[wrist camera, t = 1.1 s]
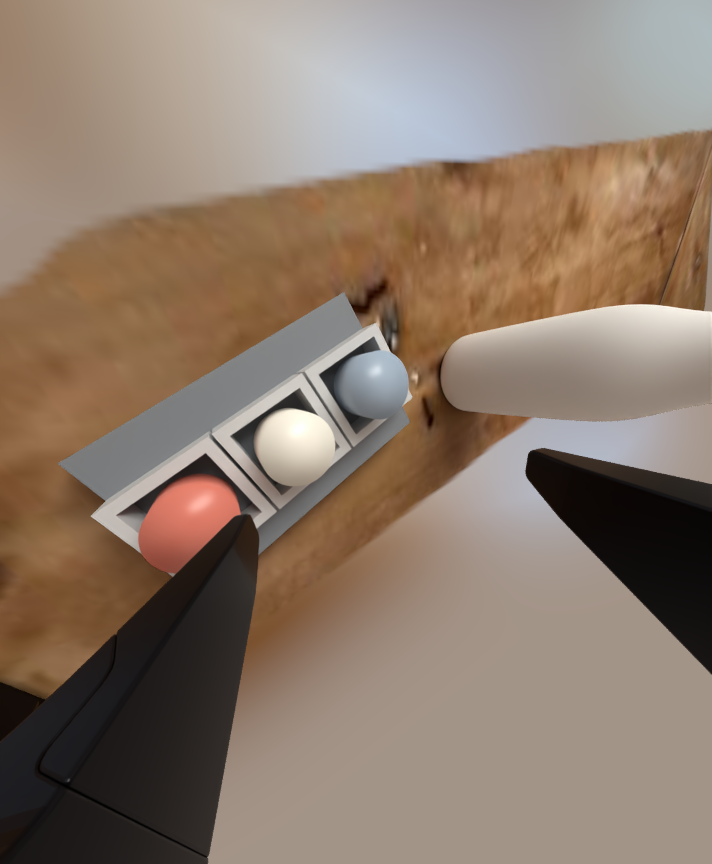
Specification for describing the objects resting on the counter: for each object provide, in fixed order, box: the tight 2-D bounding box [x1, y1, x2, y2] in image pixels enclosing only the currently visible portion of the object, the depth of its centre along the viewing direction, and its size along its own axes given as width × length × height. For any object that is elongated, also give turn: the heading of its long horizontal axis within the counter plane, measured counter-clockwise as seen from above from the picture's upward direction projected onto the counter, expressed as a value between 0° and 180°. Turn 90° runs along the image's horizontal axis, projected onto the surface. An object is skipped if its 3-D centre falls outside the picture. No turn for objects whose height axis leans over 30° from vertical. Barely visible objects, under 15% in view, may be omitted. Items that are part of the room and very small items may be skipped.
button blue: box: [334, 350, 409, 419], centre depth 16 cm, size 4×4×2 cm
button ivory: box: [253, 408, 335, 486], centre depth 15 cm, size 4×4×2 cm
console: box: [58, 292, 412, 577], centre depth 17 cm, size 18×11×4 cm, turn 124°
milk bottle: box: [440, 304, 712, 421], centre depth 19 cm, size 8×8×20 cm
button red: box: [138, 474, 241, 574], centre depth 13 cm, size 4×4×2 cm
